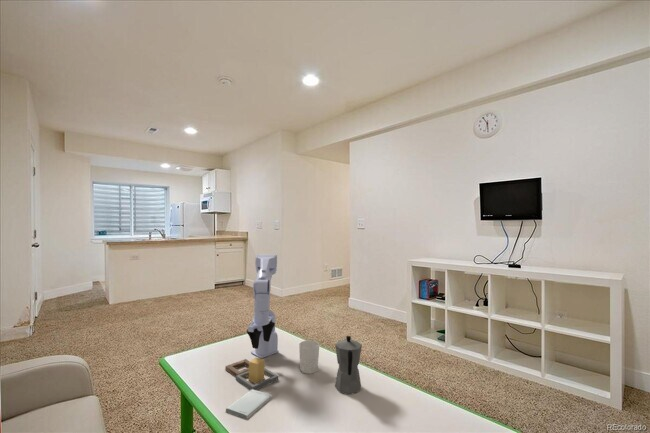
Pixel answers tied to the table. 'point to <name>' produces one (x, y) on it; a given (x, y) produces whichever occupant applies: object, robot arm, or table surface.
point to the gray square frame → (261, 384)
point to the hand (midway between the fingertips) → (261, 344)
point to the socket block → (232, 367)
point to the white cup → (309, 356)
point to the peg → (256, 370)
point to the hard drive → (248, 404)
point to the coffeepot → (348, 366)
